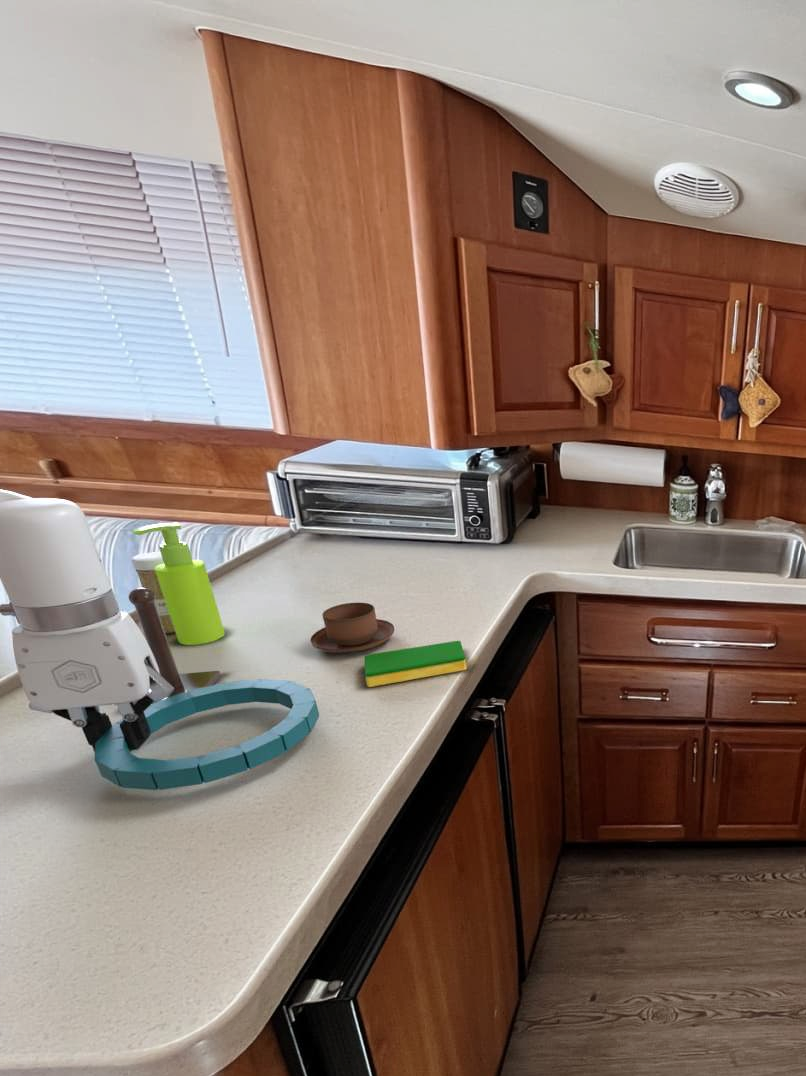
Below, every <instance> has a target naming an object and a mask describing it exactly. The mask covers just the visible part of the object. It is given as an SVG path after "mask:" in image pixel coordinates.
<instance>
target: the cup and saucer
mask: <svg viewBox="0 0 806 1076" xmlns="http://www.w3.org/2000/svg"><path fill="white" fill-rule="evenodd" d="M376 615H377V614H376V610H375V606H374V605H373V604H371V603H368V602H347V603H342V604H338V605H335V606H331V607H328V608H326V609H325V610H324V611H323V612H322V620H323V624H324V627H322V628H321V629H319V630H317V631H316V632H314V633H312V635H311V637H310V643H311V645H312V646H313V647H314V648H315V649H317V650H319V651H321V652H325V653H332V654H346V653H347V654H349V653H350V654H351V653H356V652H362V651H366V650H369V649H372V648H375V647H377V646H379V645H382V644H384V643H385V642H386V641H387V640H389V639H390V638H391V637H392V636H393V635H394V633H395V626H394V624H393V623H392V622H390V621H388V620H385V619H379V618H377V616H376Z"/></svg>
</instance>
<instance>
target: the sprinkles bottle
mask: <svg viewBox="0 0 806 1076" xmlns="http://www.w3.org/2000/svg"><path fill="white" fill-rule="evenodd" d="M131 562H132V566H133V569H134V570H135V572H137V577H138V579H139V582H140V588H147V589H150V590H152V591H153V592H154V593H155V596H156V599H155V601H154V602H155V605H156V608H157V611H158V614H159V617H160V619H161V622H162V625H163V628H164V631H165V634H173V633H176V632H175V629H174V626H173V623H172V620H171V617H170V614H169V611H168V608H167V605H166V602H165V599H164V596H163V593H162V590H161V587H160V584H159V581H158V578H157V575H156V572H155V567H156V566H158V565H160V564H163V563H164V562H163V558H162V555H161V552H160V551H151V552H144V553H139V554H137V555H136V554H135V555H134V556H132V558H131Z"/></svg>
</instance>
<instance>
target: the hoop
mask: <svg viewBox="0 0 806 1076" xmlns="http://www.w3.org/2000/svg"><path fill="white" fill-rule="evenodd" d="M249 703H264V704H265V703H266V704H278V705H281V706H284V707H285V708H288V709H290V710H289V712H288V714H287V715H286V717H285V718H284V719H283V720H281V721H280V722H279V723H277V724H276V725H275V726H273V727H271V729H269V730H268V731H266V732H264V733H262V734H259V735H258V736H254V737H252V738H250V739H248V740H247V741H244V742H242V743H239V744H237V745H235V746H230V747H227V748H223V749H221V750H216V751H212V752H209V753H204V754H203V755H196V756H188V757H181V758H173V759H158V758H146V757H145V758H144V757H143V758H142V757H138V756H136V755H135V754H132V752H133V750H130V749H129V747H128V744H127V742H126V739H125V737H124V736H123V733H122V731H121V728H120V723H121V722H122V721H123V720H124V719H123V718H121V719H120V720H118V721H116V722H115V723H114V724H112V727H111V728H110V729H109V730H108V731H107V732H106V733H105V734H104V735H103V736H102V737H101V738H100V739H99V740H98V741H97V743H95V752H94V757H93V759H94V762H95V765H96V766H97V769H98V772H99V774H100V776H101V777H102V778H104V779H106V780H107V781H109V782H110V783H112V784H114V785H116V786H118V787H119V788H124V789H136V790H147V791H149V790H150V791H157V790H159V791H160V790H167V789H169V790H170V789H174V788H176V789H177V788H183V787H189V786H195V785H202V784H203V783H204V784H208V783H210V782H214V781H217V780H219V779H224V778H226V777H227V778H228V777H230V776H233V775H237V774H240V773H243V772H246V771H248V770H249V769H250V770H253V769H254V768H256V767H258V766H261V765H262V764H264V763H266V762H268V761H271V760H272V759H275V758H277V757H279V756H281V755H283V754H285V753H286V752H287V751H289V750H291V749H292V748H293V747H295V746H296V745H297V744H298V743H300V742H301V741H302V740H304V739H305V738H306V737H307V736H308V735H310V733H312V731H313V729H314V727H315V725H316V724H317V722H318V720H319V718H320V712H319V708H318V705H317V701H316V697H314V694H313V692H312V690H311V689H310V687H308V686H305V685H302V684H300V683H298V682H295V681H291V680H285V679H270V678H262V679H261V678H256V679H247V680H235V681H234V680H233V681H226V682H220V683H216V684H213V685H212V686H207V687H203V688H198V689H194V690H190V691H187V693H186V692H183V693H180V694H177V695H175V696H172V697H169V698H166V699H163V700H161V701H158V702H156V703H153V704H151V705H150V706H149V707H148V708H147V709H146V710H145V711H144V714H145V717H146V719H147V722H148V725H149V727H150V730H151V734H150V735H152V734H153V733H155V732H157V731H159V730H160V729H163V728H164V727H165V726H167V725H169V724H172V723H174V722H177V721H179V720H181V719H184V718H187V717H191V716H192V715H194V714H197V713H201V712H205V711H209V710H213V709H217V708H221V707H225V706H230V705H231V706H232V705H239V704H240V705H241V704H249Z"/></svg>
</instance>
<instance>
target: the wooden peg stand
mask: <svg viewBox="0 0 806 1076" xmlns="http://www.w3.org/2000/svg"><path fill="white" fill-rule="evenodd" d="M155 599H156V596H155V593H154V592H153V591H152V590H150V589H147V588H142V587H137V588H134V589H132V590H131V591H130V592H129V594H128V601H129V602H130V603H131V604H132V605H133V606H134V609H135V611H136V615H137V617H138V620H139V623H140V626H141V628H142V631H143V635H144V638H145V639H146V641H147V643H148V645H149V647H150V649H151V651H152V653H153V655H154V658H155V660H156V663H157V665H158V668H159V671H160V676H162V677H163V678H164V679H165V680H166V681H167V682H168V683H169V684H171V685H172V686H173V687H174V689H175V690H174V692H173V693H172V694H171V695H170V696H169V697H172V696H175V695H177V694H180V693H183V692H186V693H187V691H190V690H194V689H198V688H203V687H207V686H212V685H215V683H216V682H217V681H218V680H219V679H220V677H221V673H220V670H210V671H199V672H188V673H187V672H186V673H179V670H178V667H177V664H176V662H175V658H174V655H173V652H172V649H171V647H170V644H169V640H168V638H167V633H165V631H164V628H163V625H162V622H161V619H160V617H159V614H158V611H157V608H156V605H155V602H154V601H155ZM149 692H151V690H150V689H149ZM169 697H167V698H169ZM165 699H166V698H165ZM162 700H163V699H162ZM160 701H161V700H160Z"/></svg>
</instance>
